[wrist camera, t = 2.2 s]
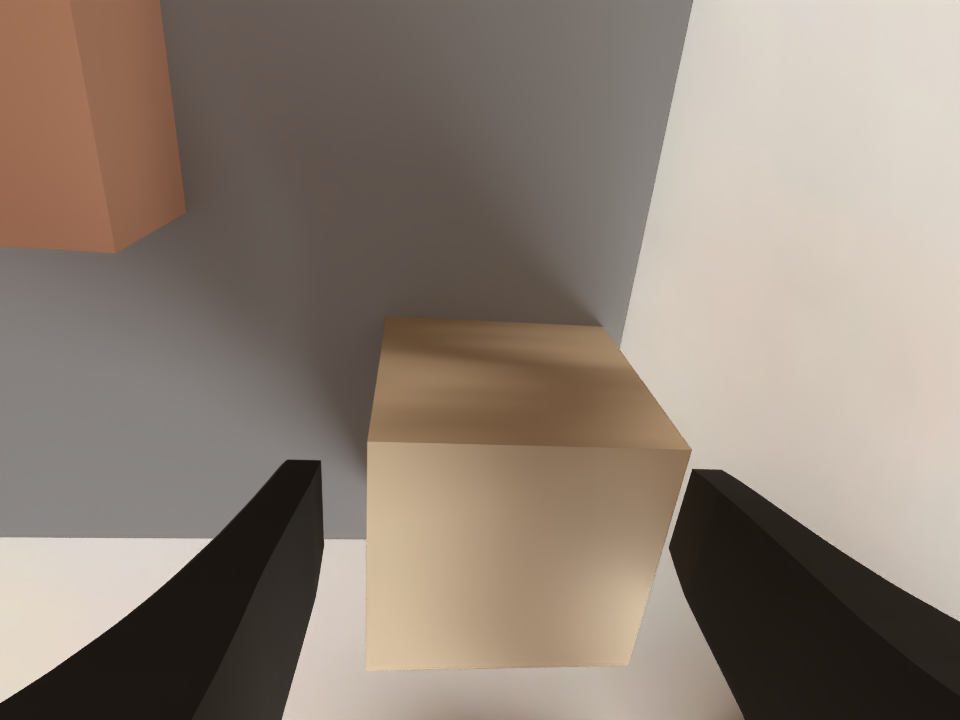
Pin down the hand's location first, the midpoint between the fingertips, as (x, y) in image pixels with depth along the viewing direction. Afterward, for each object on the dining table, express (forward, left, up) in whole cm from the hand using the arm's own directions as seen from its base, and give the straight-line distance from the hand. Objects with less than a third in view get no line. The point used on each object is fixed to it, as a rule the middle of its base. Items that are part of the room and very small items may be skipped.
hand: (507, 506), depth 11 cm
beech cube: (0, 0, -3) cm, 3 cm away
